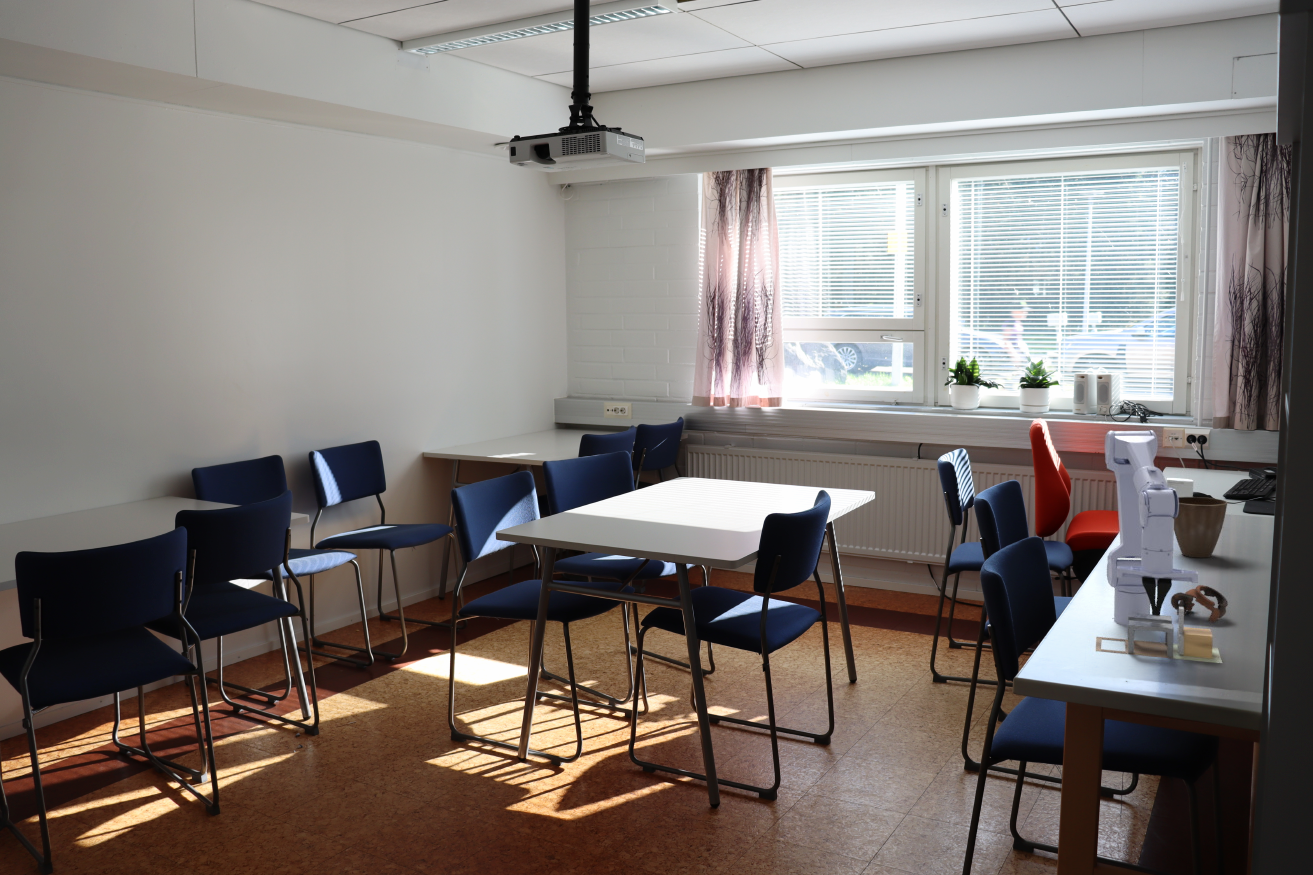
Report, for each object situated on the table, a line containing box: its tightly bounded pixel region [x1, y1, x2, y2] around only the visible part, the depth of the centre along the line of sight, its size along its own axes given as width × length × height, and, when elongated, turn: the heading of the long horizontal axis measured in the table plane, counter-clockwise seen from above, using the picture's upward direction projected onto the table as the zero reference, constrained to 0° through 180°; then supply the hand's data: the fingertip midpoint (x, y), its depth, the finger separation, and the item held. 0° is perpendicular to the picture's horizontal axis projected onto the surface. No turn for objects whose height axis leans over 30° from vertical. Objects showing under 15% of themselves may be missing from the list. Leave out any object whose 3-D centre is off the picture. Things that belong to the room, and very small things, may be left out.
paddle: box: [1176, 607, 1185, 655], centre depth 198 cm, size 6×1×9 cm, turn 155°
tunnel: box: [1127, 613, 1175, 659], centre depth 201 cm, size 9×8×6 cm
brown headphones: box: [1170, 584, 1229, 623], centre depth 226 cm, size 12×10×8 cm
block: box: [1183, 626, 1214, 658], centre depth 197 cm, size 5×5×4 cm
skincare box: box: [1165, 477, 1194, 497], centre depth 332 cm, size 8×6×15 cm
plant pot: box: [1172, 496, 1228, 559], centre depth 285 cm, size 15×15×16 cm
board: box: [1095, 636, 1223, 664], centre depth 201 cm, size 10×22×2 cm, turn 65°
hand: (1155, 614), depth 200 cm, fingers closed
